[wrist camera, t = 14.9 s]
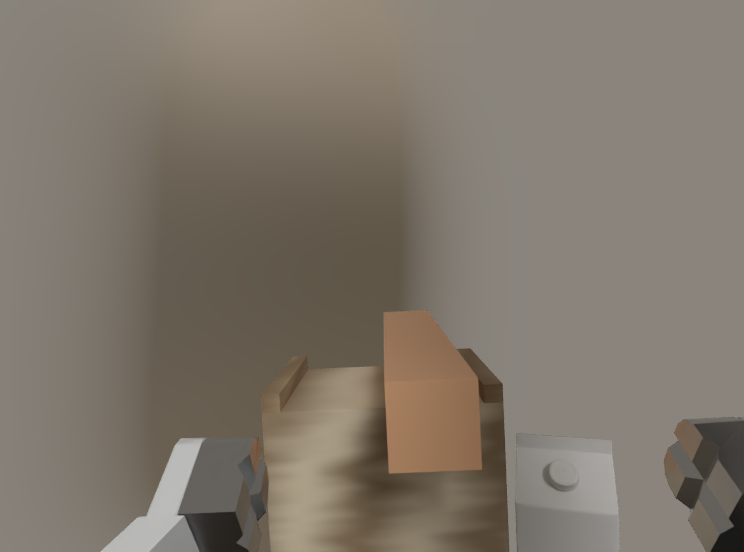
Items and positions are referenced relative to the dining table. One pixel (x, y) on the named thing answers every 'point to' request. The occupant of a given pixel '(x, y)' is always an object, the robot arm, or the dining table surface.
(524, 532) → the milk carton
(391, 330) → the bar
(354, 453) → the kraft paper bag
